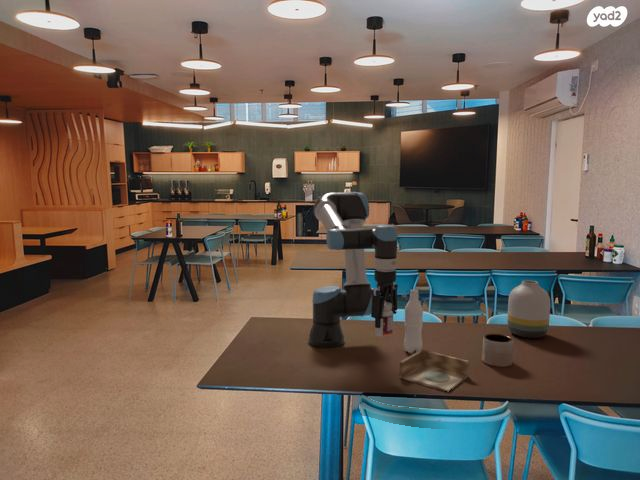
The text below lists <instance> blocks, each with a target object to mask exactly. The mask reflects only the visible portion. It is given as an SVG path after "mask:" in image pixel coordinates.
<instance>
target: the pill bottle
mask: <svg viewBox="0 0 640 480" xmlns="http://www.w3.org/2000/svg"><path fill="white" fill-rule="evenodd" d="M391 309H392V303H390V302H386V301H385V302H384V308H383V313H382V319H383V337H382V338H387V337H391V336H392V335H393V332H394V314H393V312H392V310H391Z"/></svg>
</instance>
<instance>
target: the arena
mask: <svg viewBox="0 0 640 480" xmlns="http://www.w3.org/2000/svg"><path fill="white" fill-rule="evenodd" d="M469 364H470V362H469V360H466V359H463V358H458V357H454V356H452V355H451V356H450V355H448V354H443V353H439V352H435V351H430V350H427V349H423V348H421V350H420V351H418V352H413V353H412V354H411V355H409V356H407V357H406V358H404V359H402V360H400V361H399V379H402V380H406V381H409V382H412V383H415V384H419V385H422V386H425V387H430V388H433V389H435V390H438V389H439V391H442V390H443V391H442V392H445V391H447V392H446V393H450V392H451V391H452V390H454V389H455V388H456V387H457V386H458V385H460V384H461V383H462V382H464V381H465V380H466V379H467V378H468V377H469V368H470V367H469V366H470V365H469ZM451 389H452V390H451ZM450 390H451V391H450ZM449 391H450V392H449Z"/></svg>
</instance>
